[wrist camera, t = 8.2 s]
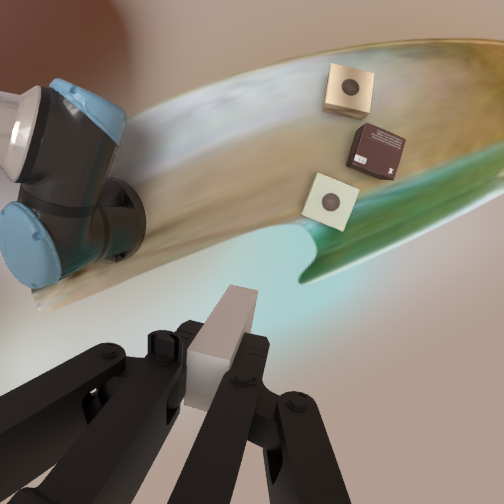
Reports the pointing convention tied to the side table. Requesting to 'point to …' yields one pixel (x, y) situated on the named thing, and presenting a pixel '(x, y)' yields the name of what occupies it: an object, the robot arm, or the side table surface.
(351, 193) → the sage block partly covered
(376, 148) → the box
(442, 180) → the side table surface
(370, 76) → the beech block marked
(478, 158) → the side table surface
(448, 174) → the side table surface
